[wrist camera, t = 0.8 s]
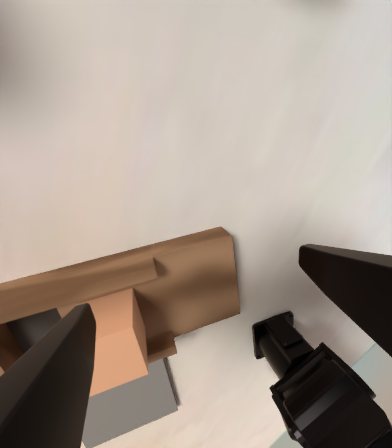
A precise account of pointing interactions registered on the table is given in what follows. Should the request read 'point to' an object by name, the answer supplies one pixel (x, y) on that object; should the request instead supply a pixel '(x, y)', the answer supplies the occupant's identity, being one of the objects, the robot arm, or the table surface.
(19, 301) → the divided wooden tray
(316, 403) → the robot arm
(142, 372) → the block
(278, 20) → the table surface
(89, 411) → the mat
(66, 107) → the table surface
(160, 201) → the table surface
